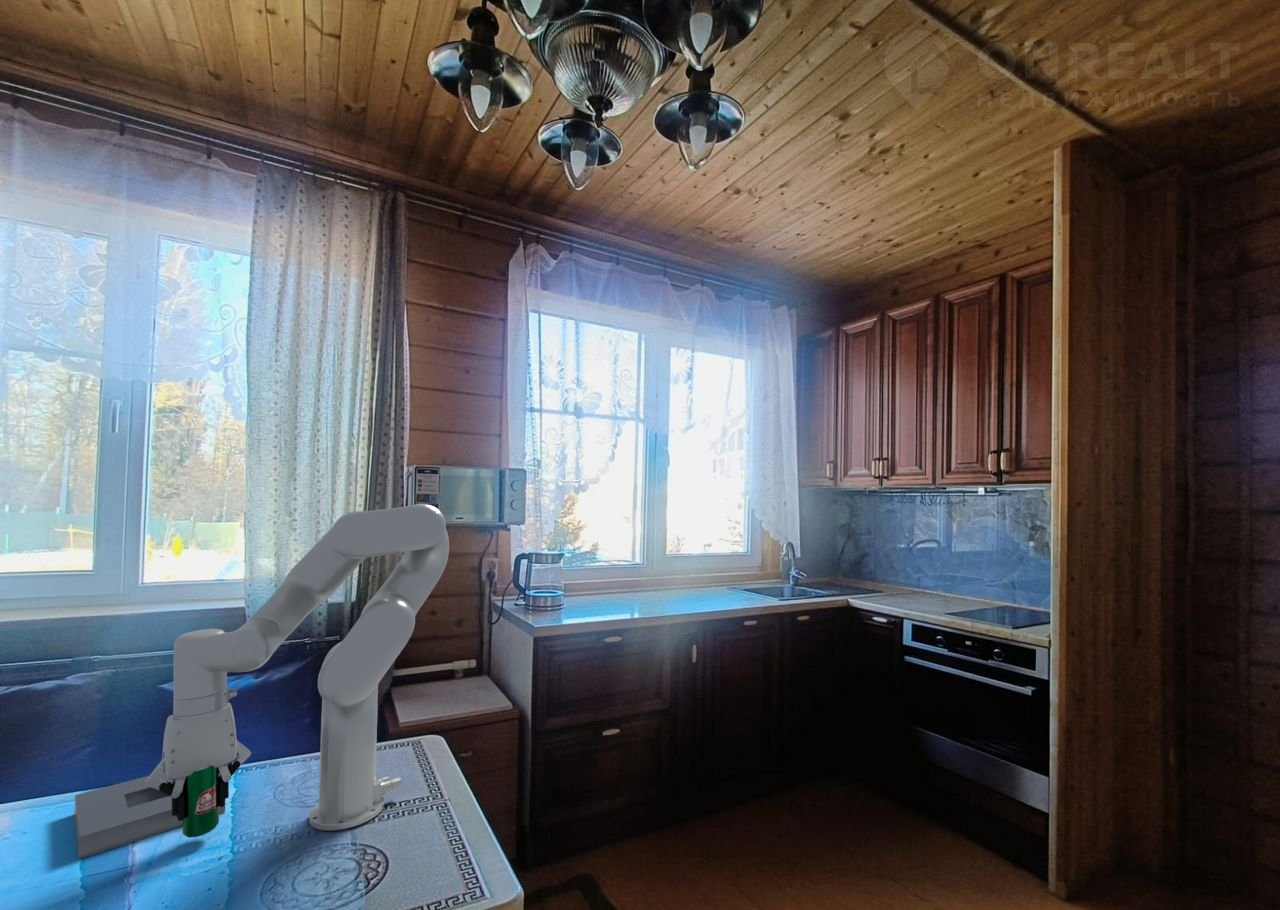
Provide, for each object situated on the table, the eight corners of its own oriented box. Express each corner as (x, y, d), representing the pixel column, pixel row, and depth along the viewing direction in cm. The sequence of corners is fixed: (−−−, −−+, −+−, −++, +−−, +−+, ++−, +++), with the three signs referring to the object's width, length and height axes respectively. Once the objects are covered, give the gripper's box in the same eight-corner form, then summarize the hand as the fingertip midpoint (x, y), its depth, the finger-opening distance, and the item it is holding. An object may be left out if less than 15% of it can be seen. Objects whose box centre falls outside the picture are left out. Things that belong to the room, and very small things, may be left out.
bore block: (204, 777, 125) (205, 760, 125) (224, 812, 111) (225, 793, 111) (74, 814, 111) (75, 795, 111) (78, 859, 97) (79, 837, 97)
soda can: (199, 840, 99) (199, 766, 100) (174, 838, 100) (174, 765, 100) (226, 823, 104) (226, 753, 104) (202, 821, 105) (202, 751, 105)
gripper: (252, 685, 112) (253, 785, 111) (134, 712, 100) (133, 824, 99) (262, 694, 106) (263, 798, 105) (139, 723, 94) (138, 841, 93)
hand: (200, 809), depth 102 cm, fingers closed on soda can, 5 cm apart
